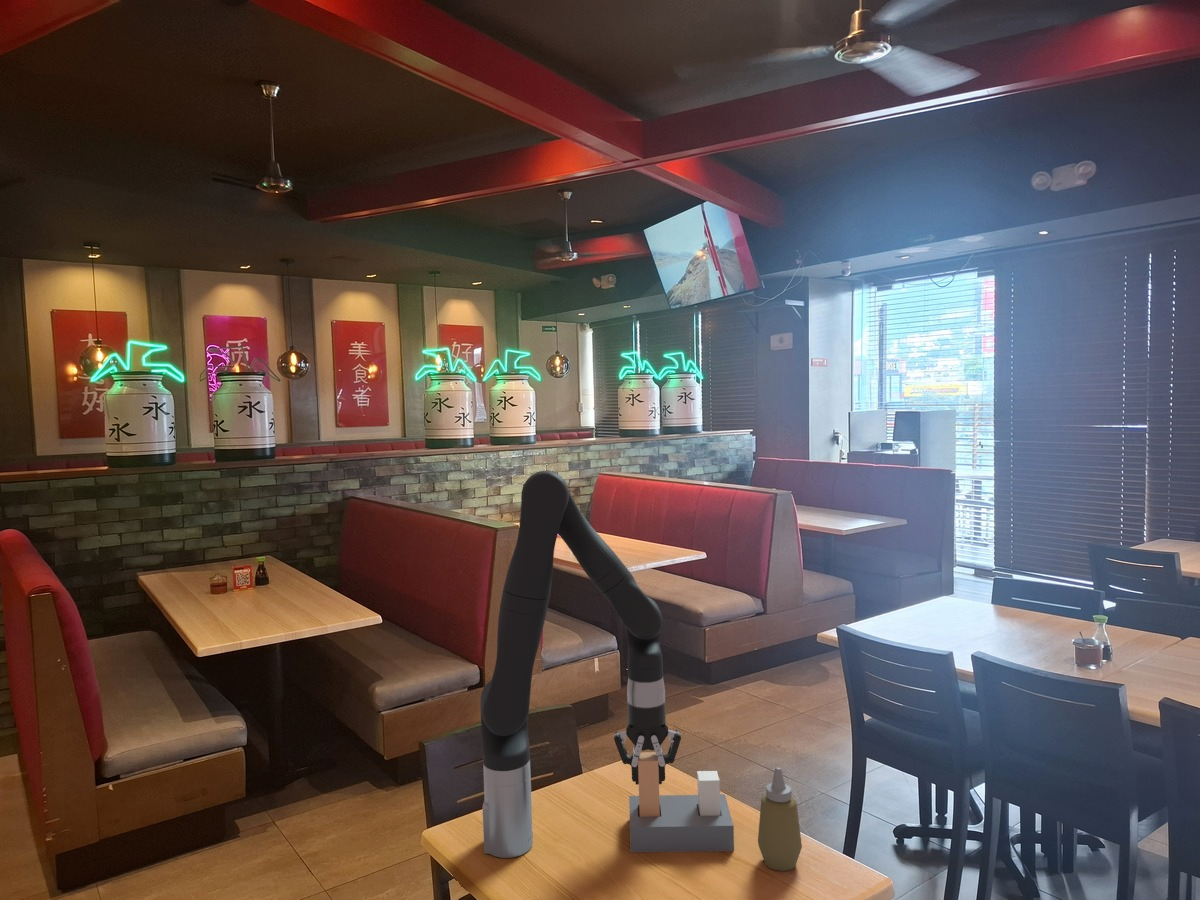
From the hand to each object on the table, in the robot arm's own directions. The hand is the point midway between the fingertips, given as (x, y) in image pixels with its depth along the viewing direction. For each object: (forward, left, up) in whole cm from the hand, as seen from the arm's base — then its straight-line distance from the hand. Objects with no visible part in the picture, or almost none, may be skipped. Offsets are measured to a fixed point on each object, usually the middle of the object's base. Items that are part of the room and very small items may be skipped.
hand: (648, 782), depth 152 cm
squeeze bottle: (+24, -10, -11) cm, 28 cm away
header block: (+6, 0, -11) cm, 12 cm away
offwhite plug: (+12, 0, -11) cm, 16 cm away
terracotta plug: (0, 0, -7) cm, 7 cm away
